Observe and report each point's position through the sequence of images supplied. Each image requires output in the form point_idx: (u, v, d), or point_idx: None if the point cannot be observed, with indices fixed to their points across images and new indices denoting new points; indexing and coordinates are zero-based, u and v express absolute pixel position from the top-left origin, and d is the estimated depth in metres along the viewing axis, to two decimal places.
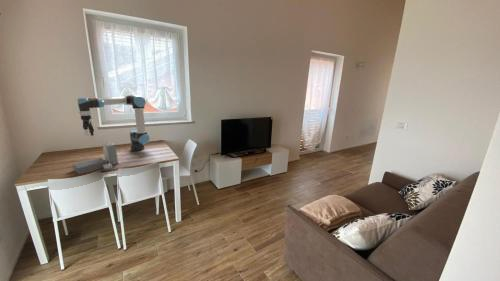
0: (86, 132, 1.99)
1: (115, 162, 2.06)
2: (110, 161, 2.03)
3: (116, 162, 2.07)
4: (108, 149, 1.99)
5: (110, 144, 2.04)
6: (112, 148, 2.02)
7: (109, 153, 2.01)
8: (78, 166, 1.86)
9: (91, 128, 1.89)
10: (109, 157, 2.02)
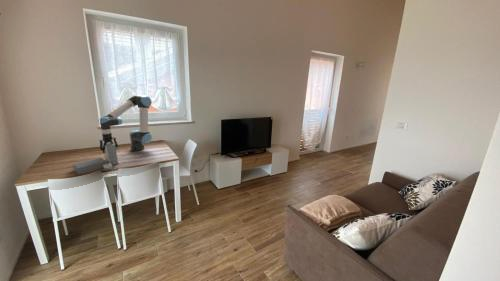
0: None
1: (115, 162, 2.06)
2: (110, 161, 2.03)
3: (116, 162, 2.07)
4: (108, 149, 1.99)
5: (110, 144, 2.04)
6: (112, 148, 2.02)
7: (109, 153, 2.01)
8: (78, 166, 1.86)
9: (100, 147, 2.00)
10: (109, 157, 2.02)
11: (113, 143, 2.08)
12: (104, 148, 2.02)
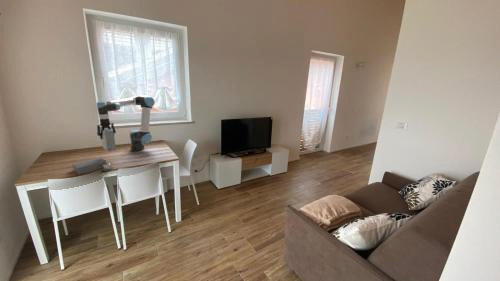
0: None
1: (113, 148, 2.02)
2: (108, 147, 1.99)
3: (114, 148, 2.03)
4: (106, 134, 1.95)
5: (108, 130, 2.00)
6: (110, 134, 1.98)
7: (107, 139, 1.97)
8: (78, 166, 1.86)
9: (97, 132, 1.96)
10: (107, 143, 1.98)
11: (111, 129, 2.04)
12: (102, 134, 1.98)
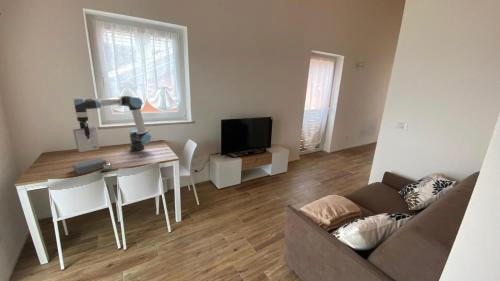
0: None
1: None
2: (98, 144, 1.94)
3: None
4: None
5: None
6: None
7: (96, 135, 1.92)
8: (78, 166, 1.86)
9: (87, 131, 1.83)
10: (97, 140, 1.93)
11: None
12: None
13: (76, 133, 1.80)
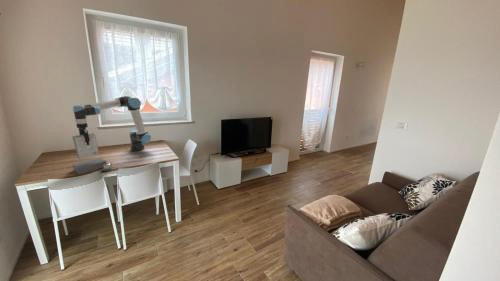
0: None
1: None
2: None
3: None
4: (95, 137, 1.92)
5: None
6: None
7: None
8: (78, 166, 1.86)
9: (87, 138, 1.84)
10: (97, 146, 1.94)
11: None
12: None
13: (76, 140, 1.81)
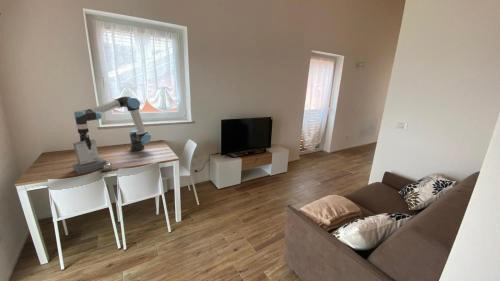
0: None
1: None
2: (98, 156, 1.98)
3: None
4: None
5: None
6: None
7: (96, 147, 1.96)
8: (78, 166, 1.86)
9: (89, 142, 1.84)
10: (97, 151, 1.97)
11: None
12: None
13: (77, 146, 1.83)
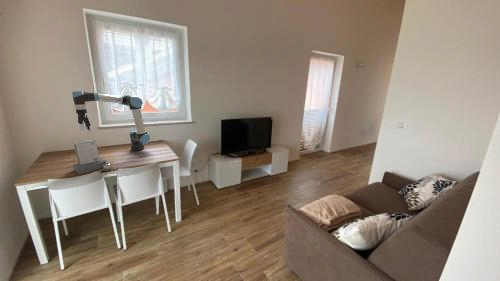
0: (81, 127, 1.93)
1: None
2: (98, 156, 1.99)
3: None
4: None
5: (88, 141, 1.93)
6: None
7: None
8: (78, 166, 1.86)
9: (87, 122, 1.83)
10: (97, 152, 1.97)
11: None
12: None
13: (77, 147, 1.84)
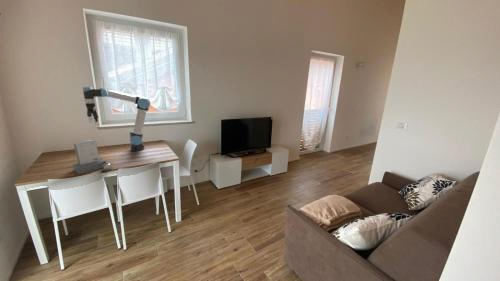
0: (90, 119, 2.14)
1: None
2: (98, 156, 1.99)
3: None
4: None
5: (88, 141, 1.93)
6: None
7: None
8: (78, 166, 1.86)
9: (95, 115, 2.04)
10: (97, 152, 1.97)
11: (91, 112, 2.13)
12: None
13: (77, 147, 1.84)
